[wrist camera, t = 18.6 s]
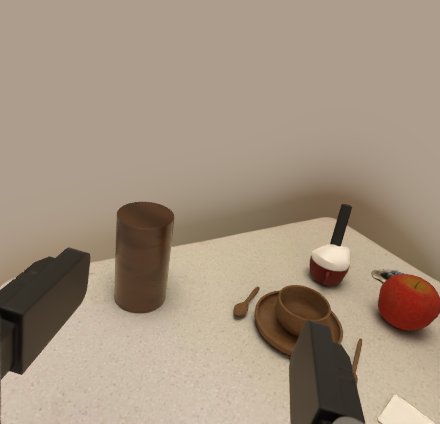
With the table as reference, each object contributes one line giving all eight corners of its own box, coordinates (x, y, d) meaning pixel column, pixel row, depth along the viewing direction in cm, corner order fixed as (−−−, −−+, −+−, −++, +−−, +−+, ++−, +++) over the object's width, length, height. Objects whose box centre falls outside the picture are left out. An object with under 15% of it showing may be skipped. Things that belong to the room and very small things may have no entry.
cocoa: (328, 298, 57) (352, 233, 52) (294, 278, 61) (314, 215, 55) (353, 277, 64) (377, 217, 58) (322, 259, 67) (342, 201, 62)
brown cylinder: (145, 320, 47) (152, 235, 41) (103, 298, 49) (104, 215, 44) (174, 292, 53) (184, 213, 47) (135, 273, 55) (140, 196, 49)
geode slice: (419, 301, 60) (423, 292, 59) (369, 283, 63) (373, 274, 62) (417, 280, 66) (421, 272, 65) (372, 264, 68) (375, 256, 67)
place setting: (367, 332, 52) (382, 300, 49) (340, 457, 35) (360, 419, 33) (255, 282, 58) (263, 251, 55) (188, 369, 42) (194, 331, 39)
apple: (386, 297, 60) (404, 258, 56) (434, 328, 55) (458, 288, 51) (361, 314, 55) (379, 273, 51) (411, 350, 50) (435, 307, 46)
